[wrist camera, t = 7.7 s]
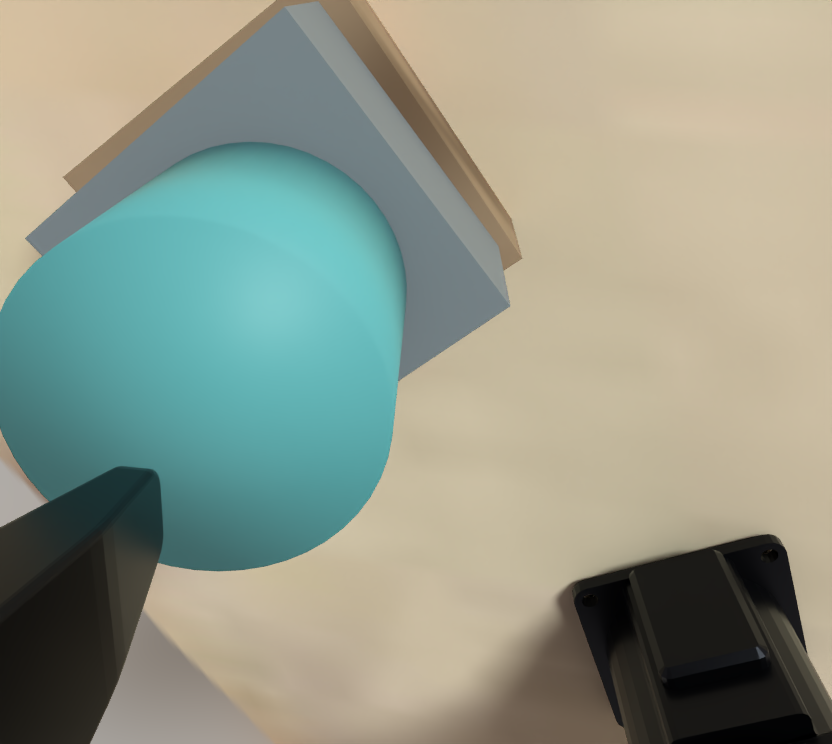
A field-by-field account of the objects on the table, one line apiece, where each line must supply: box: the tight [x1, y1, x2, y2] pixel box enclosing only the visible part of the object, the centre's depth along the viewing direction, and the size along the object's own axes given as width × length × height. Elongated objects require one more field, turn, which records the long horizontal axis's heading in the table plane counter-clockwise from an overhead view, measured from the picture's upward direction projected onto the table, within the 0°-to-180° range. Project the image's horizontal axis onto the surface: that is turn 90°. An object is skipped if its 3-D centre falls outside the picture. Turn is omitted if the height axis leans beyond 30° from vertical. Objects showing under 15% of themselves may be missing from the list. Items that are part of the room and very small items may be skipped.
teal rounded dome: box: [0, 142, 407, 571], centre depth 12 cm, size 5×5×4 cm
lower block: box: [63, 0, 522, 271], centre depth 18 cm, size 7×7×4 cm
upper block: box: [25, 1, 510, 381], centre depth 15 cm, size 6×6×4 cm
